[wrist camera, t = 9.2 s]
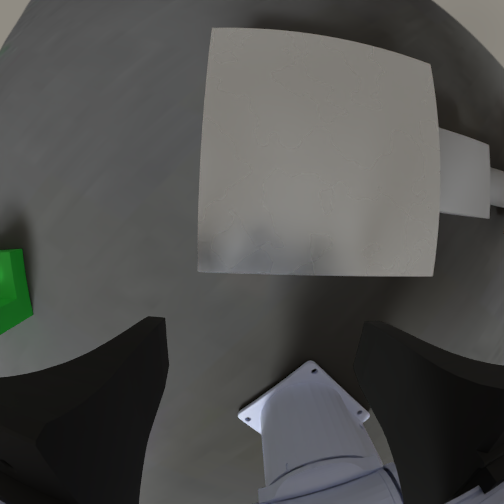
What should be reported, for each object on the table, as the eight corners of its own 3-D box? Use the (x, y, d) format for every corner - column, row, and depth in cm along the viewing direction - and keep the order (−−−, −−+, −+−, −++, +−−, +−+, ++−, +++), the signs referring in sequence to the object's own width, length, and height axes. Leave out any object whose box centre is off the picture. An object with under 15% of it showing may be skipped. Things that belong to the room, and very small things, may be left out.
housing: (379, 254, 20) (432, 276, 13) (213, 248, 20) (197, 271, 13) (382, 98, 18) (430, 64, 12) (221, 79, 18) (212, 28, 11)
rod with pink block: (514, 235, 19) (551, 243, 14) (342, 218, 18) (374, 223, 13) (515, 162, 18) (552, 160, 13) (343, 114, 17) (373, 88, 12)
